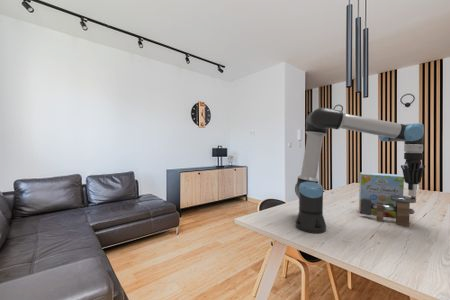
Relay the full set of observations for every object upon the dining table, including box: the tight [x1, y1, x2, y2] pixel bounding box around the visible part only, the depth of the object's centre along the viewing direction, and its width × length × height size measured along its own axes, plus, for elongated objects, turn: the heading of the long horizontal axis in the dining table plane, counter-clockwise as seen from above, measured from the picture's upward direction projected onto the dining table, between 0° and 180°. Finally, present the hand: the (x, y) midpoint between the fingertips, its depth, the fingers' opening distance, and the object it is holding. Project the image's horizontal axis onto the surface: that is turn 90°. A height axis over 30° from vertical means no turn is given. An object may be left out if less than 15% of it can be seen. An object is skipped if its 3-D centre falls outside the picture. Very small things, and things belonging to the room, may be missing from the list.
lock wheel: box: [390, 195, 417, 204], centre depth 114 cm, size 11×11×6 cm
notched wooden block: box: [376, 201, 411, 228], centre depth 117 cm, size 9×14×13 cm, turn 53°
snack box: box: [358, 171, 405, 219], centre depth 129 cm, size 22×9×26 cm, turn 62°
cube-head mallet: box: [361, 198, 415, 216], centre depth 118 cm, size 4×24×9 cm, turn 54°
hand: (412, 195), depth 111 cm, fingers closed
